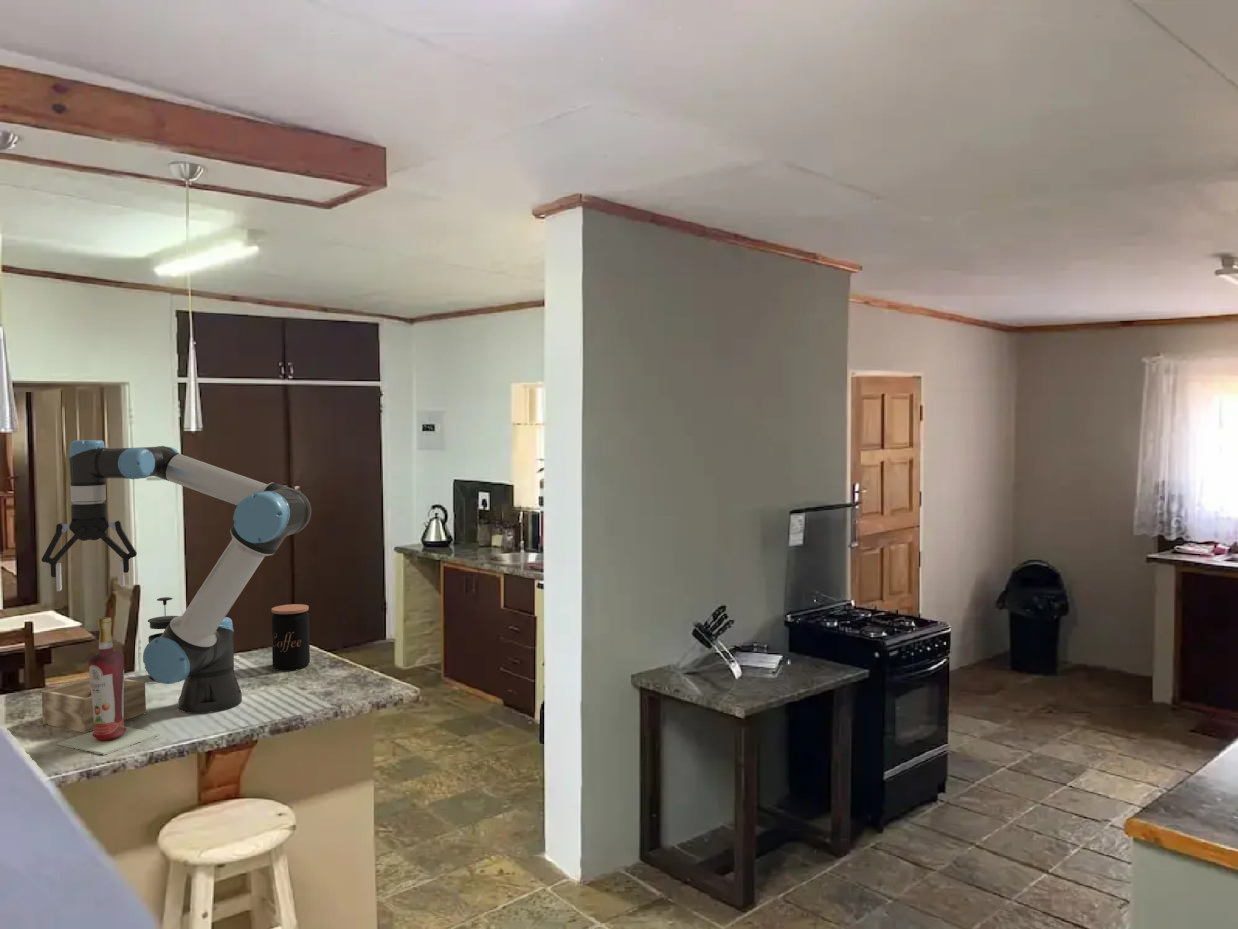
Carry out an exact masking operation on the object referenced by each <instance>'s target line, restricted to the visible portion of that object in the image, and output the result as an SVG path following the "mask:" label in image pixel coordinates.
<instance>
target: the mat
mask: <svg viewBox="0 0 1238 929" xmlns="http://www.w3.org/2000/svg"><path fill="white" fill-rule="evenodd" d="M124 727H125V728H126V731H125V732H124V733H123V734H122V735H121V736H120V737H119V738H117V739H115V740H111V741H99V740H98V739H96V738H95V737H93V736H92V734H93V733H94V730H93V731H90V732H87V733H84V734H81V735H77V736H75V737H71V738H69V739H65V740H61V741H59V742H57V746H61V747H65V748H70V749H74V748H75V749H74V750H78V749H81V750H80V751H83V750H85V751H84V752H87V751H90V752H89V753H91V752H94V753H93V754H97V755H100V754H103V755H102V756H106V755H105V754H107V755H109V754H112V753H115V752H117V751H116V750H118V751H120V750H119V749H121V750H123V749H122V748H124V749H126V748H129V747H131V746H130V745H132V746H134V745H133V744H135V743H138V742H141V743H143V741H144V742H146V741H149V740H151V739H150V738H152V737H155V736H158V737H161V733H160V732H159V733H158V732H155V731H154V732H153V731H149V730H144V729H138V728H135V727H129V726H125V725H124ZM155 738H156V737H155ZM148 739H149V740H148ZM152 739H153V738H152ZM138 744H139V743H138ZM135 745H136V744H135ZM114 751H115V752H114Z"/></svg>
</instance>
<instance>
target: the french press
mask: <svg viewBox="0 0 1238 929" xmlns="http://www.w3.org/2000/svg"><path fill="white" fill-rule="evenodd" d="M172 600H173V597H170V596H167V597H159V598H157V599H156V601H158V602H159V601H160V602H162V605H163V606H164V607H163V610H164V611H163V612H164V615H163V616H157V617H156V616H155V617H152V618H149V619H148V620H147V622H148V623H149V628H150V630H165V629H166V628H167V626H168V625H169V623H170V622H171V620H172V619H173V618H175V617H178V616H179V615H166V613H167V612H166V605H167V601H172ZM162 634H163V632H159V633H154V634H151V635H148V637H147V638H148V640H147V641H148V643H150V642H151V641H152V640H154V639H155V638H158V637H160V636H161V635H162ZM148 679H149V680H150V679H151V680H150V681H155V680H154V679H153V678H152V677H151V676H150V675H149V674H148Z"/></svg>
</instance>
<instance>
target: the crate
mask: <svg viewBox="0 0 1238 929" xmlns="http://www.w3.org/2000/svg"><path fill="white" fill-rule="evenodd" d="M146 698H147V697H146V682H145V681H140V680H133V679H128V678H124V721H126V720H125V719H127V720H129V719H128V718H130V719H133V718H136V717H139V716H138V715H140V716H142V715H141V714H143V715H145V714H144V713H147V707H146V706H147V702H146V701H147V700H146ZM41 702H42V703H41V707H42V708H41V710H42V725H46V724H48V725H47V726H52V727H57V728H61V729H66V730H70V731H71V730H72V731H75V732H80V733H84V734H86V733H89V731H90V732H92V730H93V731H94V718H93V706H92V695H91V687H90V678H86V679H84V680H79V681H77V682H73V683H69V684H66V685H60V686H58V687H57V686H56V687H53V688H49V689H46V690H42V691H41Z"/></svg>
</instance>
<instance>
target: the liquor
mask: <svg viewBox="0 0 1238 929" xmlns="http://www.w3.org/2000/svg"><path fill="white" fill-rule="evenodd" d="M97 626H98V630H99V639H98V640H99V641H98V651H97V652H96V653H94V654H92V655H91V656H89V658H88V659H87V664H88V673H89V674H88V676H89V679H90V687H91V695H92V706H93V718H94V730H93V731H94V733H93V734H92V736H93V737H95V738H96V739H98V740H99V741H111V740H115V739H117V738H119V737H120V736H121V735H122V734H123V733H124V732H125V731H126V728H125V727H126V726H125V722H124V721H125V720H124V679H125V654H123V653H122V652H120V651H119V650H114V646H113V644H114V643H113V637H112V632H111V630H112V617H110V616H104V617H99V618H97ZM124 726H125V727H124Z"/></svg>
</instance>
